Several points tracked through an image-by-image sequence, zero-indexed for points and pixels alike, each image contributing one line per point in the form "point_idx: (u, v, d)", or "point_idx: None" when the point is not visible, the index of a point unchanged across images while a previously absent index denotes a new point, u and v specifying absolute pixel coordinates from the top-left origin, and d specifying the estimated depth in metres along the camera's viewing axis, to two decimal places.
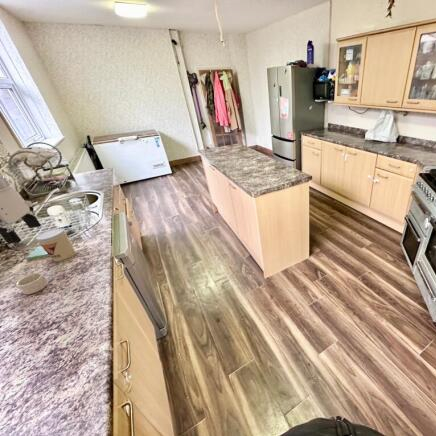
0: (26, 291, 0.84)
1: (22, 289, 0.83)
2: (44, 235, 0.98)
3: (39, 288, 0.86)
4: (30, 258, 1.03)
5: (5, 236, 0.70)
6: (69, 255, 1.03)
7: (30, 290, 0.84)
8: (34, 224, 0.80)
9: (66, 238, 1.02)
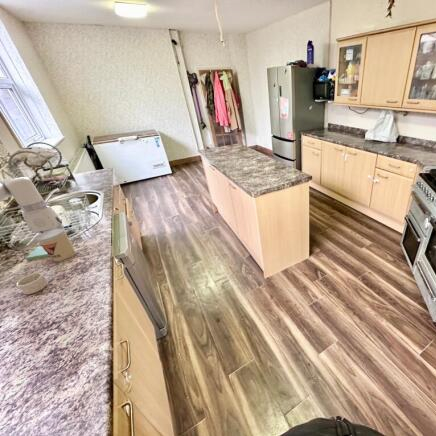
0: (26, 291, 0.84)
1: (22, 289, 0.83)
2: (44, 235, 0.98)
3: (39, 288, 0.86)
4: (30, 258, 1.03)
5: None
6: (69, 255, 1.03)
7: (30, 290, 0.84)
8: None
9: (66, 238, 1.02)
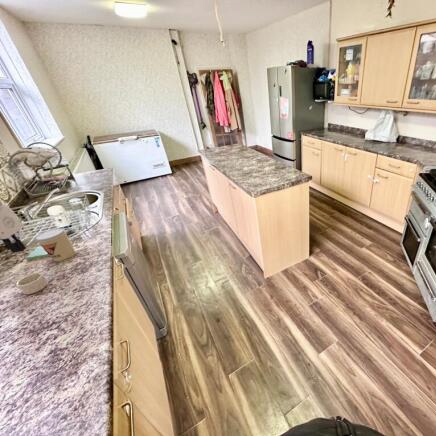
0: (26, 291, 0.84)
1: (22, 289, 0.83)
2: (44, 235, 0.98)
3: (39, 288, 0.86)
4: (30, 258, 1.03)
5: None
6: (69, 255, 1.03)
7: (30, 290, 0.84)
8: None
9: (66, 238, 1.02)
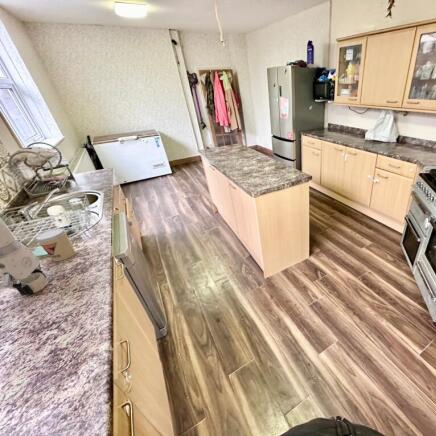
0: None
1: None
2: (44, 235, 0.98)
3: (39, 288, 0.86)
4: None
5: None
6: (69, 255, 1.03)
7: None
8: None
9: (66, 238, 1.02)
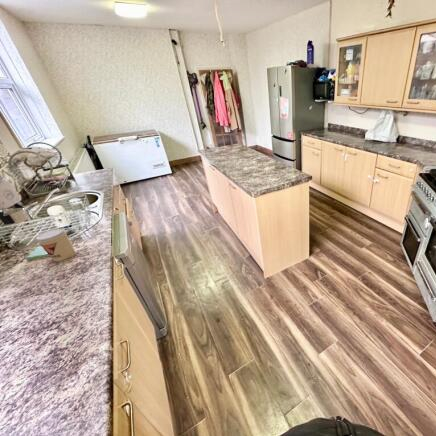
0: None
1: None
2: (44, 235, 0.98)
3: (20, 220, 0.96)
4: (30, 258, 1.03)
5: None
6: (69, 255, 1.03)
7: None
8: None
9: (66, 238, 1.02)
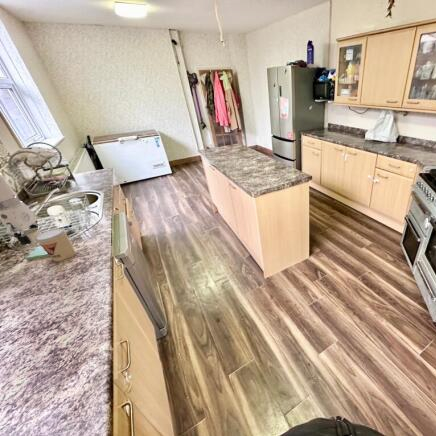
0: None
1: None
2: (44, 235, 0.98)
3: None
4: (30, 258, 1.03)
5: None
6: (69, 255, 1.03)
7: None
8: None
9: (66, 238, 1.02)
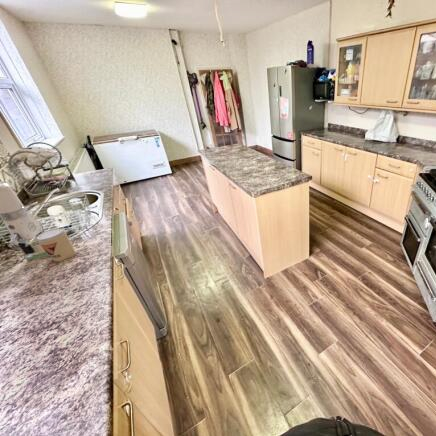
0: None
1: None
2: (44, 235, 0.98)
3: (44, 250, 1.05)
4: (30, 258, 1.03)
5: None
6: (69, 255, 1.03)
7: (36, 251, 1.03)
8: None
9: (66, 238, 1.02)
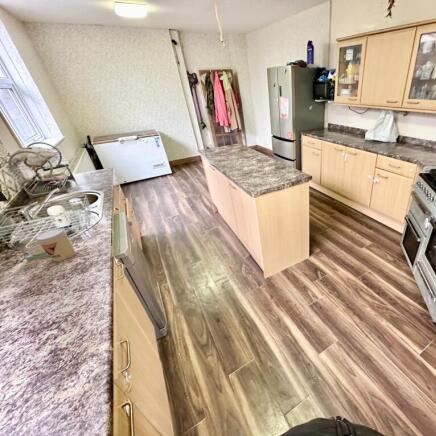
0: (33, 252, 1.03)
1: (30, 250, 1.02)
2: (44, 235, 0.98)
3: (44, 250, 1.05)
4: (30, 258, 1.03)
5: None
6: (69, 255, 1.03)
7: (36, 251, 1.03)
8: None
9: (66, 238, 1.02)
